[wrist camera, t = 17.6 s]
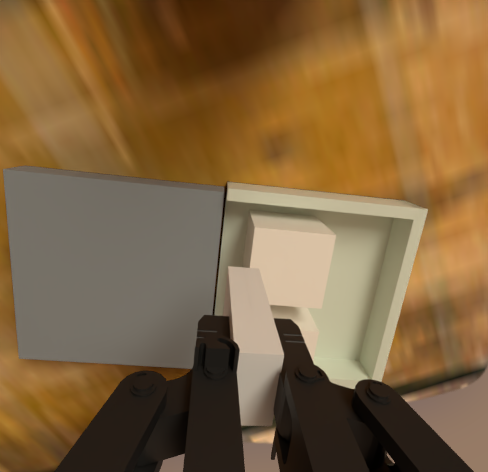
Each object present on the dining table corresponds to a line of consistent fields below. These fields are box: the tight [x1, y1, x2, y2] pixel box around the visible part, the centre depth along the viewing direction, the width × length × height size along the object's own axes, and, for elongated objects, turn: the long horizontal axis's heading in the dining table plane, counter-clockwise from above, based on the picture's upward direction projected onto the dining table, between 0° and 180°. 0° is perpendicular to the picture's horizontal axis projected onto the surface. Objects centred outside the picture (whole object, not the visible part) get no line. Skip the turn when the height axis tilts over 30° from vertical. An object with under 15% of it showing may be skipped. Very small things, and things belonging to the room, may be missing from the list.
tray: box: [214, 182, 428, 389], centre depth 26 cm, size 14×15×3 cm
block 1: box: [242, 210, 336, 309], centre depth 24 cm, size 5×5×5 cm
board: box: [3, 166, 224, 369], centre depth 25 cm, size 14×14×2 cm
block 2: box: [270, 305, 319, 360], centre depth 25 cm, size 5×5×5 cm
